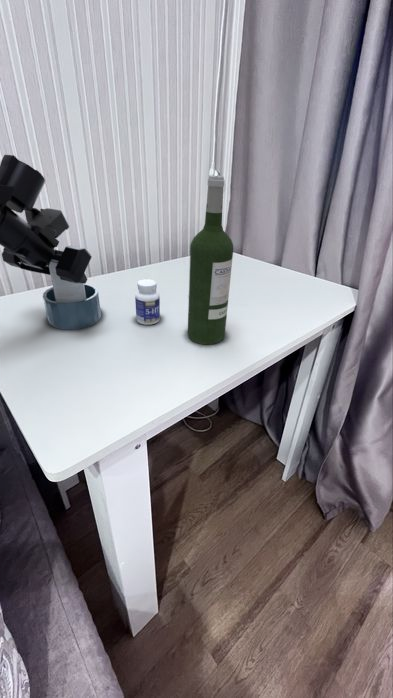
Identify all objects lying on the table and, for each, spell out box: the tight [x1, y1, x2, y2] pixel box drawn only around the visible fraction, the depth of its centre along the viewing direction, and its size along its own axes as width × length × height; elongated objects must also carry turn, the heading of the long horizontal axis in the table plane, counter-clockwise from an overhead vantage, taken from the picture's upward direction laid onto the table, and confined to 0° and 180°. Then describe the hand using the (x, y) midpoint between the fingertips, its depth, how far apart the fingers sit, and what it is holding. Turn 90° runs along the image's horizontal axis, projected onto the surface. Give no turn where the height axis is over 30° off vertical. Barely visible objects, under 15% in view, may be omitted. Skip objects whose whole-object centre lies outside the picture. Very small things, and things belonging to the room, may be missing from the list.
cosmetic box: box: [49, 262, 86, 303], centre depth 70 cm, size 6×4×12 cm
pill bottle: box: [134, 278, 161, 326], centre depth 73 cm, size 5×5×9 cm
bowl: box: [42, 283, 102, 330], centre depth 73 cm, size 11×11×6 cm
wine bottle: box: [187, 175, 234, 346], centre depth 62 cm, size 8×8×30 cm
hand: (73, 277), depth 71 cm, fingers closed on cosmetic box, 7 cm apart
